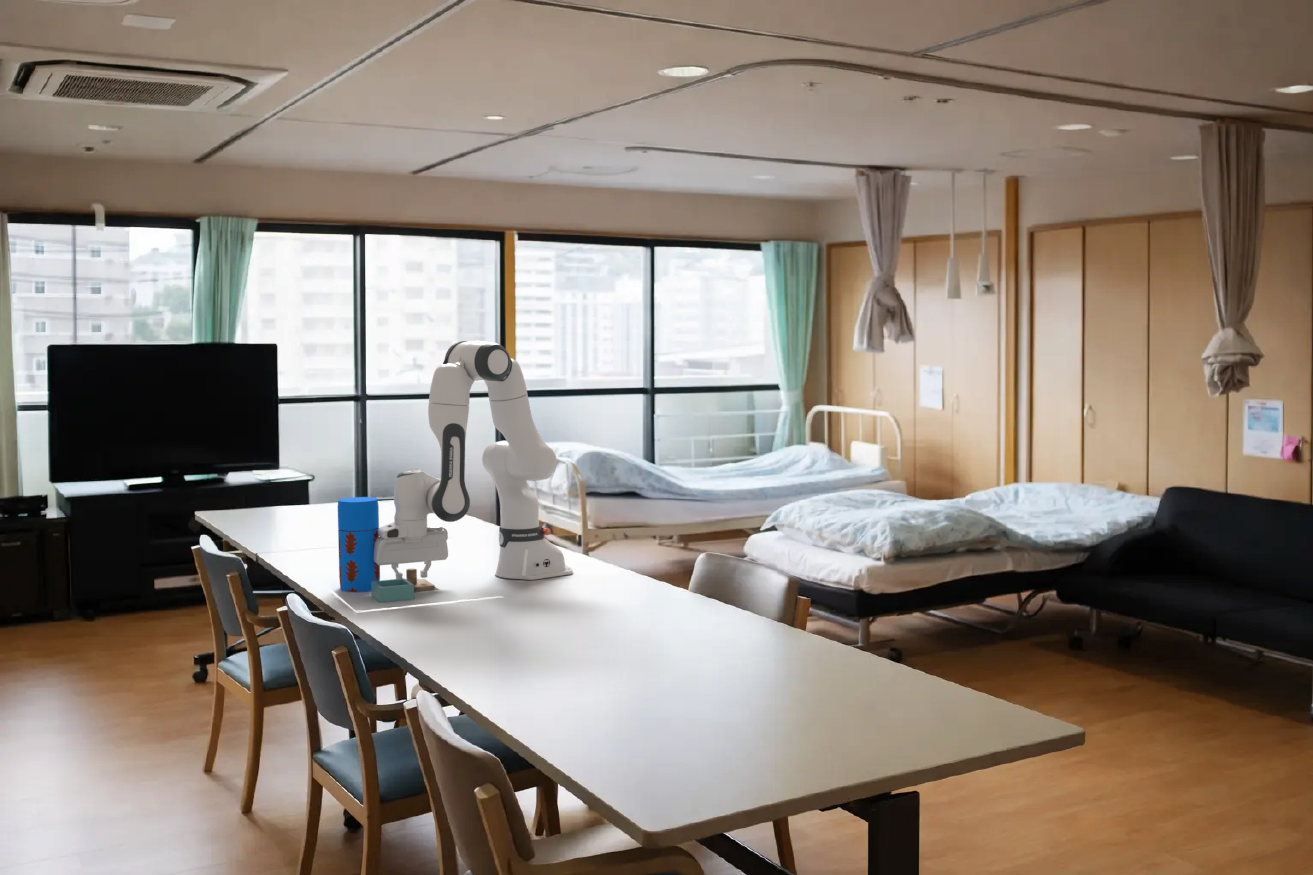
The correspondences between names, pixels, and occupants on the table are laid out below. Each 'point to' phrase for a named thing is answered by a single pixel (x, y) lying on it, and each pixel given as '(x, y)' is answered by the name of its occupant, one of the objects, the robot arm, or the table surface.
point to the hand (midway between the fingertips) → (411, 578)
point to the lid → (418, 581)
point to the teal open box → (392, 590)
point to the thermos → (357, 543)
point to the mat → (427, 590)
